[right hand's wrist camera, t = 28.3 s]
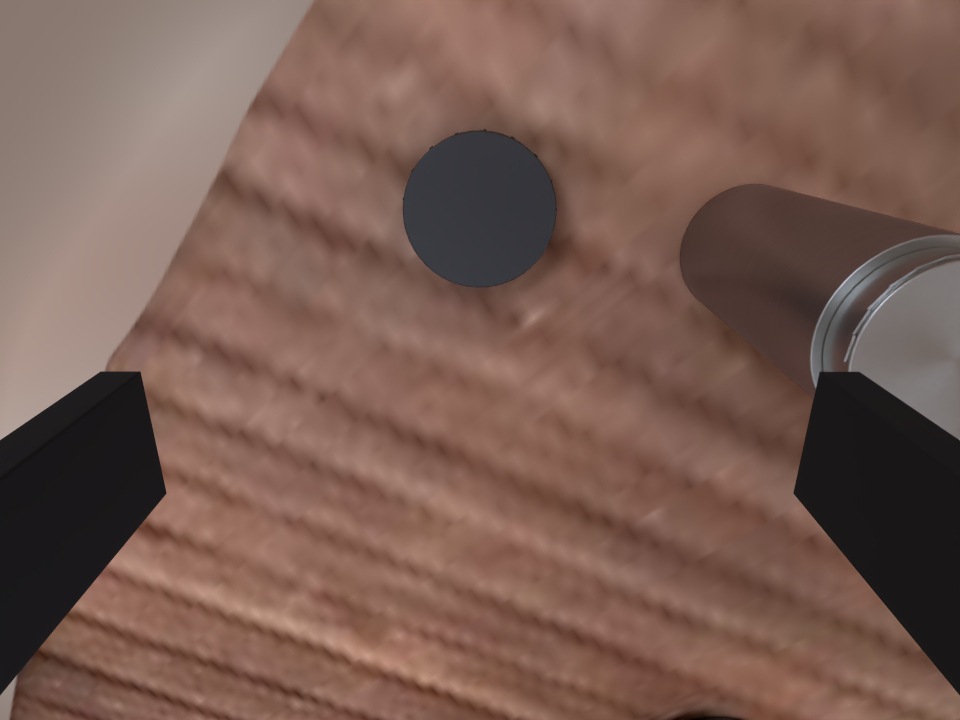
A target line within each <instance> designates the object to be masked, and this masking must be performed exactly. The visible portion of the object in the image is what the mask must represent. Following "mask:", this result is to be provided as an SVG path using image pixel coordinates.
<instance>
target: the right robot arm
mask: <svg viewBox="0 0 960 720" xmlns="http://www.w3.org/2000/svg"><path fill="white" fill-rule="evenodd" d="M165 494H166V489H165V484H164V480H163V475H162V470H161V466H160V461H159V456H158V452H157V447H156V442H155V438H154V433H153V428H152V424H151V419H150V414H149V410H148V405H147V400H146V396H145V391H144V386H143V382H142V377H141V372H100V373H98V374H97V375H95V376H94V377H92V378H91V379H89V380H88V381H86V382H85V383H83V384H82V385H80V386H79V387H78V388H76V389H75V390H73V391H72V392H70V393H69V394H67V395H66V396H64V397H63V398H61V399H60V400H59V401H57V402H56V403H54V404H53V405H51V406H50V407H48V408H47V409H45V410H44V411H42V412H41V413H40V414H38V415H37V416H35V417H34V418H32V419H31V420H29V421H28V422H26V423H25V424H23V425H22V426H20V427H19V428H17V429H16V430H15V431H13V432H12V433H10V434H9V435H7V436H6V437H4V438H3V439H1V440H0V695H1V694H2V692H3V691H4V690H5V689H6V688H7V686H8V685H9V684H10V683H11V681H12V680H13V679H14V678H15V677H16V675H17V674H18V673H19V672H20V671H21V669H22V668H23V667H24V666H25V664H26V663H27V662H28V661H29V660H30V658H31V657H32V656H33V655H34V654H35V652H36V651H37V650H38V649H39V647H40V646H41V645H42V644H43V643H44V641H45V640H46V639H47V638H48V637H49V635H50V634H51V633H52V632H53V630H54V629H55V628H56V627H57V626H58V624H59V623H60V622H61V621H62V620H63V618H64V617H65V616H66V615H67V613H68V612H69V611H70V610H71V609H72V607H73V606H74V605H75V604H76V603H77V601H78V600H79V599H80V598H81V596H82V595H83V594H84V593H85V592H86V590H87V589H88V588H89V587H90V586H91V584H92V583H93V582H94V581H95V579H96V578H97V577H98V576H99V575H100V573H101V572H102V571H103V570H104V569H105V567H106V566H107V565H108V564H109V562H110V561H111V560H112V559H113V558H114V556H115V555H116V554H117V553H118V552H119V550H120V549H121V548H122V547H123V545H124V544H125V543H126V542H127V541H128V539H129V538H130V537H131V536H132V535H133V533H134V532H135V531H136V530H137V528H138V527H139V526H140V525H141V524H142V522H143V521H144V520H145V519H146V518H147V516H148V515H149V514H150V513H151V511H152V510H153V509H154V508H155V507H156V505H157V504H158V503H159V502H160V501H161V499H162V498H163V497H164V496H165ZM794 494H795V496H796V497H797V498H798V499H799V501H800V502H801V503H802V504H803V505H804V507H805V508H806V509H807V510H808V511H809V513H810V514H811V515H812V516H813V518H814V519H815V520H816V521H817V522H818V524H819V525H820V526H821V527H822V528H823V530H824V531H825V532H826V533H827V535H828V536H829V537H830V538H831V539H832V541H833V542H834V543H835V544H836V545H837V547H838V548H839V549H840V550H841V552H842V553H843V554H844V555H845V556H846V558H847V559H848V560H849V561H850V562H851V564H852V565H853V566H854V567H855V569H856V570H857V571H858V572H859V573H860V575H861V576H862V577H863V578H864V579H865V581H866V582H867V583H868V584H869V586H870V587H871V588H872V589H873V590H874V592H875V593H876V594H877V595H878V596H879V598H880V599H881V600H882V601H883V603H884V604H885V605H886V606H887V607H888V609H889V610H890V611H891V612H892V613H893V615H894V616H895V617H896V618H897V620H898V621H899V622H900V623H901V624H902V626H903V627H904V628H905V629H906V630H907V632H908V633H909V634H910V635H911V637H912V638H913V639H914V640H915V641H916V643H917V644H918V645H919V646H920V647H921V649H922V650H923V651H924V652H925V654H926V655H927V656H928V657H929V658H930V660H931V661H932V662H933V663H934V664H935V666H936V667H937V668H938V669H939V671H940V672H941V673H942V674H943V675H944V677H945V678H946V679H947V680H948V681H949V683H950V684H951V685H952V686H953V688H954V689H955V690H956V691H957V692H958V694H959V695H960V440H959V439H957V438H956V437H954V436H953V435H951V434H950V433H948V432H947V431H945V430H944V429H942V428H941V427H940V426H938V425H937V424H935V423H934V422H932V421H931V420H929V419H928V418H926V417H925V416H923V415H922V414H921V413H919V412H918V411H916V410H915V409H913V408H912V407H910V406H909V405H907V404H906V403H904V402H903V401H901V400H900V399H899V398H897V397H896V396H894V395H893V394H891V393H890V392H888V391H887V390H885V389H884V388H882V387H881V386H880V385H878V384H877V383H875V382H874V381H872V380H871V379H869V378H868V377H866V376H865V375H863V374H862V373H860V372H819V377H818V382H817V386H816V391H815V396H814V400H813V405H812V410H811V414H810V419H809V424H808V428H807V433H806V438H805V442H804V447H803V452H802V456H801V461H800V466H799V470H798V475H797V480H796V484H795V489H794ZM699 720H736V719H728V718H708V719H699Z"/></svg>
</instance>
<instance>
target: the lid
mask: <svg viewBox="0 0 960 720" xmlns="http://www.w3.org/2000/svg"><path fill="white" fill-rule="evenodd" d="M429 149H430V150H429V151H428V152H427V153H426V154H425V155H424V156H423V157H422V159H421V160H420V161H419V162H418V164H417V165H416V167H415V168H414V169H413V170H412V171H411V172H412V174H411V176H410V178H409V180H408V183H407V186H406V189H405V194H404V198H403V218H404V224H405V229H406V233H407V235H408V238H409V241H410V243H411V245H412V247H413V249H414V250H415V252H416V253H417V255H418V256H419V258H420V259H421V260H422V261H423V262H424V263H425V265H426V266H428V267H429V268H430V269H431V270H432V271H433V272H435V273H436V274H438V275H439V276H441V277H443V278H444V279H446V280H448V281H451V282H453V283H456V284H459V285H464V286H469V287H490V286H496V285H500V284H503V283H506V282H508V281H511V280H513V279H515V278H517V277H518V276H520V275H522V274H523V273H524V272H526V271H527V270H528V269H529V268H531V267H532V266H533V265H534V264H535V263H536V262H537V260H538V259H539V258H540V257H541V255H542V254H543V252H544V251H545V249H546V247H547V245H548V244H549V241H550V239H551V236H552V233H553V230H554V226H555V219H556V211H557V209H556V199H555V193H554V189H553V185H552V183H551V182H552V180H551V179H550V178H549V175H548V173H547V172H546V170H545V168H544V166H543V165H542V164H541V162H540V161H539V160H538V158H537V157H538V156H537V155H536V154H533V153H532V152H531V151H530V150H529V149H527V148H526V147H525V146H523V145H522V144H521V143H520V142H518V141H516V140H514V137H508V136H506V135H503V134H500V133H496V132H492V131H486V129H484V131H483V130H479V131H468V132H462V133H459V134H458V133H455V135H453V136H451V137H449V138H447V139H445V140H443V141H441V142H440V143H438V144H437V145H435V146H434V147H433V146H432V147H431V148H429Z"/></svg>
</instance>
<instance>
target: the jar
mask: <svg viewBox="0 0 960 720" xmlns="http://www.w3.org/2000/svg"><path fill="white" fill-rule="evenodd" d="M680 265H681V271H682V275H683V278H684V281H685V283H686V285H687V287H688V288H689V290H690V291H691V293H692V294H693V295H694V296H695V297H696V298H697V299H698V300H699V301H700V302H701V303H703V304H704V305H705V306H706V307H707V308H708V309H710V310H711V311H712V312H713V313H714V314H715V315H717V316H718V317H719V318H720V319H721V320H722V321H724V322H725V323H726V324H727V325H728V326H729V327H731V328H732V329H733V330H734V331H735V332H736V333H738V334H739V335H740V336H741V337H742V338H743V339H745V340H746V341H747V342H748V343H749V344H750V345H752V346H753V347H754V348H755V349H756V350H757V351H759V352H760V353H761V354H762V355H763V356H764V357H766V358H767V359H768V360H769V361H770V362H771V363H773V364H774V365H775V366H776V367H777V368H778V369H780V370H781V371H782V372H783V373H784V374H785V375H787V376H788V377H789V378H790V379H791V380H792V381H794V382H795V383H796V384H797V385H798V386H799V387H801V388H802V389H803V390H804V391H805V392H806V393H808V394H809V395H810V396H811V397H812V398H813V399H814V396H815V391H816V386H817V382H818V377H819V372H860V373H862V374H863V375H865V376H866V377H868V378H869V379H871V380H872V381H874V382H875V383H877V384H878V385H880V386H881V387H882V388H884V389H885V390H887V391H888V392H890V393H891V394H893V395H894V396H896V397H897V398H899V399H900V400H901V401H903V402H904V403H906V404H907V405H909V406H910V407H912V408H913V409H915V410H916V411H918V412H919V413H921V414H922V415H923V416H925V417H926V418H928V419H929V420H931V421H932V422H934V423H935V424H937V425H938V426H940V427H941V428H942V429H944V430H945V431H947V432H948V433H950V434H951V435H953V436H954V437H956V438H957V439H959V440H960V234H959V233H955V232H951V231H948V230H944V229H940V228H936V227H932V226H928V225H924V224H920V223H916V222H912V221H908V220H904V219H900V218H896V217H892V216H888V215H884V214H880V213H876V212H872V211H868V210H864V209H860V208H856V207H852V206H848V205H844V204H840V203H836V202H832V201H828V200H824V199H820V198H817V197H813V196H809V195H805V194H801V193H797V192H793V191H789V190H785V189H781V188H777V187H773V186H768V185H762V184H750V185H743V186H738V187H735V188H732V189H729V190H727V191H725V192H723V193H721V194H719V195H717V196H716V197H714V198H713V199H711V200H710V201H709V202H708V203H706V204H705V205H704V206H703V207H702V208H701V209H700V210H699V211H698V213H697V214H696V215H695V217H694V218H693V219H692V221H691V223H690V224H689V226H688V228H687V230H686V232H685V235H684V238H683V241H682V245H681V251H680Z"/></svg>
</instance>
